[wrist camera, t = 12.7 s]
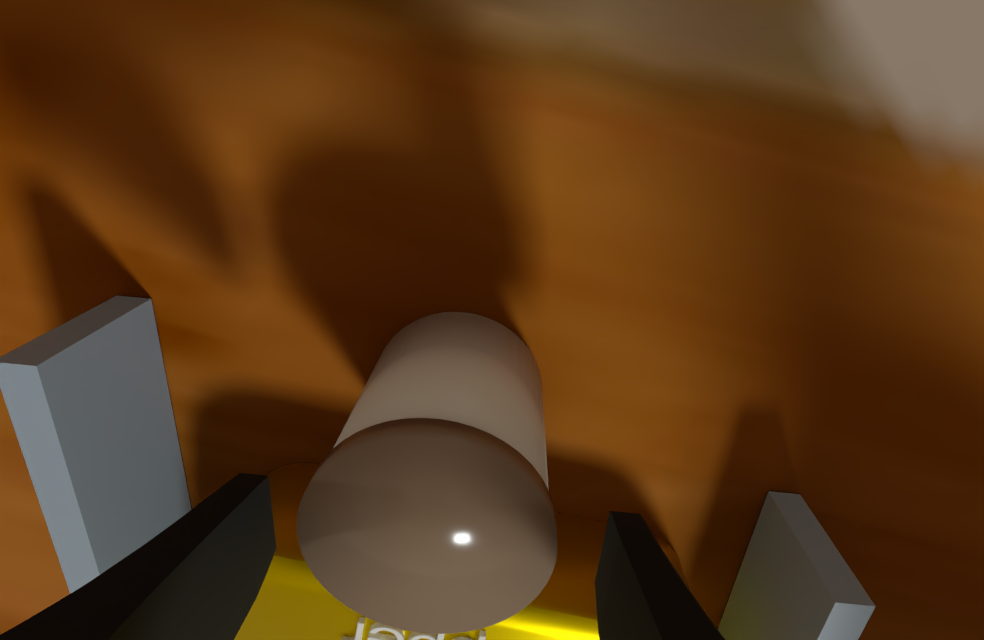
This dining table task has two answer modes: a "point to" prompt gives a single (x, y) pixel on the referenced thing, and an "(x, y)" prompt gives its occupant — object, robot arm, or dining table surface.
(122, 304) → the gray tray
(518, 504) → the jar
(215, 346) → the dining table surface
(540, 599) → the element tile
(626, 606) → the robot arm
